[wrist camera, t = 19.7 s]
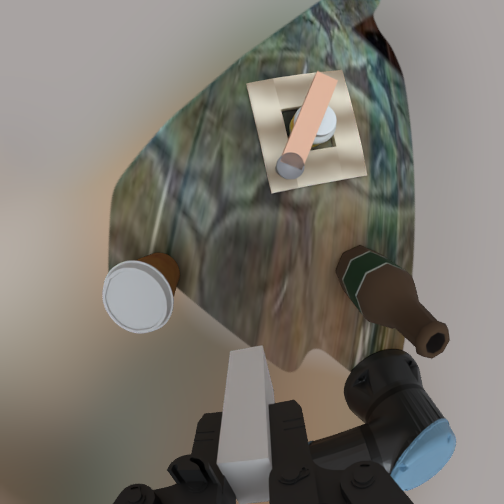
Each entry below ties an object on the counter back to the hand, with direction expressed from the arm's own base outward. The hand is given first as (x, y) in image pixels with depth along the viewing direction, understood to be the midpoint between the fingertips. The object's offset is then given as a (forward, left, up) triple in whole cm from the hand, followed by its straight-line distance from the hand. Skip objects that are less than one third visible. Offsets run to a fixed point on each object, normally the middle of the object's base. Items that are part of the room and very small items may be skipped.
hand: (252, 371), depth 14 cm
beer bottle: (-8, -15, -33) cm, 37 cm away
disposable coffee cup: (-2, +15, -33) cm, 36 cm away
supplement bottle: (+14, -11, -33) cm, 37 cm away
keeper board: (+14, -11, -32) cm, 37 cm away
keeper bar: (+13, -9, -22) cm, 27 cm away
